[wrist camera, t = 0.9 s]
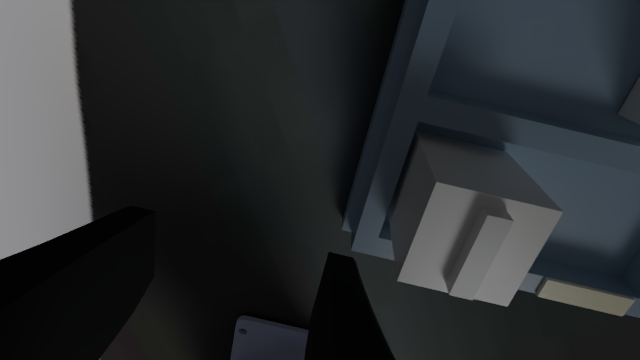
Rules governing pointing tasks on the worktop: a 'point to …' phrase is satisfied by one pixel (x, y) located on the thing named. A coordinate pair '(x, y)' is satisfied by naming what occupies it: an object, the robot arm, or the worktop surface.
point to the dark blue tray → (522, 128)
